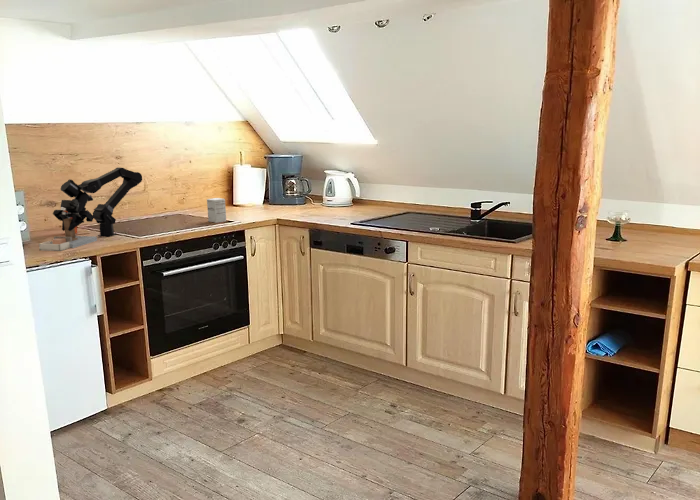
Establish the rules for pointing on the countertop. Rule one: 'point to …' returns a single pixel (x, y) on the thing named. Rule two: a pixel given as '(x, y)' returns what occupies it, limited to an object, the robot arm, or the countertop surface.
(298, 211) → the countertop surface
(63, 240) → the tile
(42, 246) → the tray
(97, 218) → the robot arm
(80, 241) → the board
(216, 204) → the supplement box
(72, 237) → the scraper
